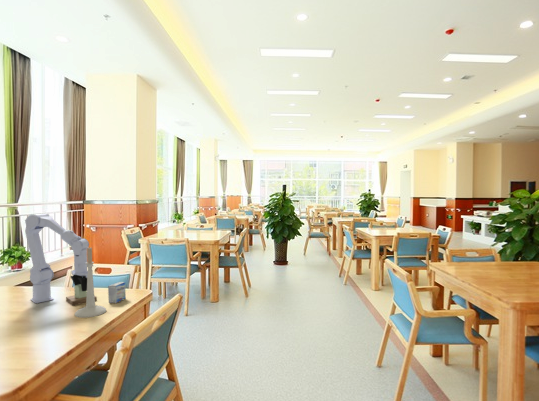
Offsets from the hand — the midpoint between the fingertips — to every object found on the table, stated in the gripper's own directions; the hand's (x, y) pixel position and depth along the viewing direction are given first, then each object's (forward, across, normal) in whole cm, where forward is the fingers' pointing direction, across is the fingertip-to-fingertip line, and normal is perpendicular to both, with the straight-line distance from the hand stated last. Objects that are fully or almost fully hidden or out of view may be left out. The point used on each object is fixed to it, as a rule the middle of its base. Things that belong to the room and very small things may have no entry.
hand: (81, 290), depth 179 cm
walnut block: (+6, 0, 0) cm, 6 cm away
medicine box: (+6, +16, +10) cm, 19 cm away
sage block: (+3, 0, 0) cm, 4 cm away
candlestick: (+6, +22, -8) cm, 24 cm away
